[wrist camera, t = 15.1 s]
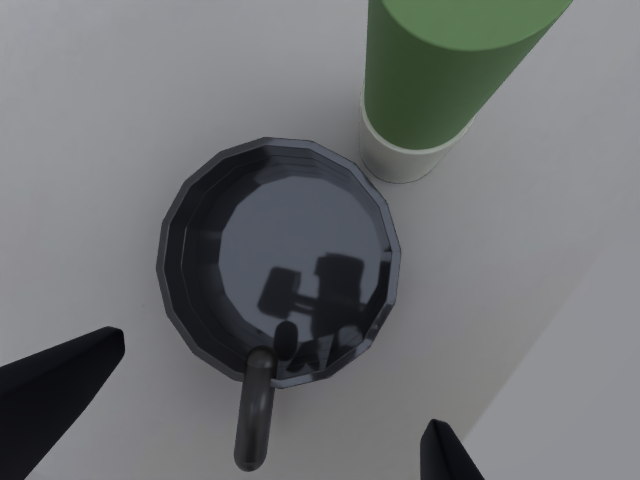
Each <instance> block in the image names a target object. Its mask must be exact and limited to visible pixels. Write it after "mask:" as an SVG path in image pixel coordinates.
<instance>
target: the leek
mask: <svg viewBox="0 0 640 480" xmlns="http://www.w3.org/2000/svg"><path fill="white" fill-rule="evenodd" d="M572 1H573V0H369V3H368V25H367V47H366V69H365V79H364V82H363V85H362V88H361V93H360V122H359V149H360V154H361V157H362V160H363V162H364V164H365V165H366V167H367V168H368V169H369V170H370V171H371V172H372V173H373V174H374V175H375V176H377V177H378V178H380V179H382V180H385V181H388V182H392V183H408V182H412V181H415V180H418V179H420V178H422V177H423V176H425V175H426V174H428V173H429V172H430V171H431V170H432V169H433V168H434V167H435V166H436V165H437V163H438V162H439V161H440V160H441V159H442V158H443V157H444V156H445V155H446V154H447V153H448V151H449V150H450V149H451V148H452V147H453V146H454V145H455V144H456V143H457V142H458V140H459V139H460V138H461V137H462V136H463V135H464V134H465V133H466V132H467V130H468V129H469V127H470V126H471V124H472V122H473V121H474V119H475V116H476V113H477V112H478V111H479V110H480V109H481V107H482V106H483V105H484V104H485V103H486V102H487V101H488V99H489V98H490V97H491V96H492V95H493V94H494V92H495V91H496V90H497V89H498V88H499V87H500V85H501V84H502V83H503V82H504V81H505V80H506V78H507V77H508V76H509V75H510V74H511V73H512V72H513V70H514V69H515V68H516V67H517V66H518V65H519V63H520V62H521V61H522V60H523V59H524V58H525V56H526V55H527V54H528V53H529V52H530V51H531V49H532V48H533V47H534V46H535V45H536V44H537V43H538V41H539V40H540V39H541V38H542V37H543V36H544V34H545V33H546V32H547V31H548V30H549V29H550V27H551V26H552V25H553V24H554V23H555V22H556V20H557V19H558V18H559V17H560V16H561V15H562V14H563V12H564V11H565V10H566V9H567V8H568V7H569V5H570V4H571V3H572Z"/></svg>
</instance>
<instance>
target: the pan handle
mask: <svg viewBox="0 0 640 480" xmlns="http://www.w3.org/2000/svg"><path fill="white" fill-rule="evenodd" d="M277 367H278V356H277V353H276V351H275V350H274V349H273V348H272V347H270V346H268V345H264V344H262V345H258V346H255V347H254V348H252V349H251V350H250V352H249V353H248V355H247V357H246V362H245V370H244V373H245V375H244V382H243V385H242V393H241V401H240V409H239V417H238V424H237V432H236V440H235V448H234V460H235V463H236V465H237V466H238V467H239V468H240V469H241V470H243V471H246V472H251V471H254V470H256V469H258V468H259V467H260V466H261V465H262V464H263V462H264V460H265V458H266V454H267V447H268V439H269V431H270V423H271V415H272V407H273V399H274V391H275V388H272V387H270V382H271V378H273V377H275V376H276V374H277Z"/></svg>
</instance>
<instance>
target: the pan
mask: <svg viewBox="0 0 640 480" xmlns="http://www.w3.org/2000/svg"><path fill="white" fill-rule="evenodd" d="M162 222H163V223H162V226H161V234H160V241H159V249H158V256H157V263H156V272H157V276H158V281H159V285H160V289H161V293H162V298H163V302H164V306H165V311H166V314H167V316H168V318H169V319H170V321H171V322H172V324H173V325H174V326H175V328H176V329H177V331H178V332H179V334H180V335H181V337H182V338H183V340H184V341H185V342H186V344H187V345H188V347H189V348H190V350H191V351H192V353H194V355H196V356H197V357H199V358H200V359H202V360H203V361H205V362H206V363H208V364H209V365H211V366H213V367H214V368H216V369H217V370H219V371H220V372H222V373H223V374H225V375H226V376H228V377H229V378H231V379H232V380H235V381H240V382H244V375H245V373H244V370H245V362H246V357H247V355H248V353H249V352H250V350H251V349H252V348H254V347H255V346H258V345H262V344H264V345H268V346H270V347H272V348H273V349H274V350H275V351H276V353H277V356H278V367H277V374H276V376H275V377H273V378H271V382H270V387H272V388H278V389H283V388H287V387H292V386H296V385H300V384H305V383H309V382H313V381H318V380H322V379H326V378H329V377H331V376H332V375H334V374H335V373H336V372H338V371H339V370H340V369H342V368H343V367H345V366H346V365H347V364H349V363H350V362H351V361H353V360H354V359H355V358H357V357H358V356H359V355H361V354H362V353H363V352H365V351H366V350H367V349H369V347H370V346H371V345H372V343H373V341H374V339H375V338H376V336H377V334H378V332H379V331H380V329H381V327H382V325H383V324H384V322H385V320H386V318H387V317H388V315H389V313H390V311H391V310H392V308H393V306H394V305H395V302H396V294H397V285H398V277H399V268H400V259H401V248H400V245H399V241H398V238H397V234H396V231H395V228H394V224H393V221H392V217H391V214H390V211H389V207H388V204H387V202H386V200H385V199H384V198H383V197H382V195H381V194H380V193H379V192H378V190H377V189H376V188H375V187H374V186H373V184H372V183H371V182H370V181H369V179H368V178H367V177H366V176H365V175H364V173H363V172H362V171H361V170H360V168H359V167H358V166H357V165H356V164H355V163H354V162H352V161H350V160H348V159H346V158H344V157H342V156H340V155H338V154H337V153H335V152H333V151H331V150H329V149H327V148H325V147H323V146H321V145H319V144H317V143H315V142H314V141H309V140H297V139H284V138H271V137H263V138H260V139H257V140H254V141H251V142H248V143H245V144H241V145H238V146H235V147H232V148H229V149H226V150H223V151H221V152H219V153H218V154H216V155H215V156H214V157H213V158H212V159H210V160H209V161H208V162H207V163H206V164H205V165H203V166H202V167H201V168H200V169H199V170H197V171H196V172H195V173H194V174H193V175H191V176H190V177H189V178H188V179H187V180H186V181H185V182H184V183H183V185H182V187H181V188H180V190H179V192H178V194H177V196H176V198H175V199H174V201H173V203H172V205H171V207H170V209H169V210H168V212H167V214H166V216H165V218H164V220H163V221H162Z"/></svg>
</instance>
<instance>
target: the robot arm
mask: <svg viewBox="0 0 640 480" xmlns="http://www.w3.org/2000/svg"><path fill="white" fill-rule="evenodd" d="M124 353H125V343H124V334H123V331H122V330H121V329H118V328H114V327H110V326H107V327H104V328H101V329H98V330H96V331H93V332H91V333H88V334H85V335H83V336H80V337H78V338H75V339H72V340H70V341H67V342H65V343H62V344H59V345H57V346H54V347H52V348H49V349H46V350H44V351H41V352H38V353H36V354H33V355H31V356H28V357H25V358H23V359H20V360H18V361H15V362H12V363H10V364H7V365H5V366H2V367H0V480H24V479H25V478H26V477H27V476H28V475H29V473H30V472H31V471H32V470H33V469H34V468H35V466H36V465H37V464H38V463H39V462H40V461H41V460H42V458H43V457H44V456H45V455H46V454H47V453H48V452H49V450H50V449H51V448H52V447H53V446H54V445H55V443H56V442H57V441H58V440H59V439H60V438H61V437H62V435H63V434H64V433H65V432H66V431H67V430H68V428H69V427H70V426H71V425H72V424H73V423H74V422H75V420H76V419H77V418H78V417H79V416H80V415H81V413H82V412H83V411H84V410H85V409H86V407H87V406H88V405H89V403H90V402H91V401H92V399H93V398H94V397H95V395H96V394H97V393H98V391H99V390H100V388H101V387H102V386H103V384H104V383H105V382H106V380H107V379H108V377H109V376H110V375H111V373H112V372H113V371H114V369H115V368H116V366H117V365H118V364H119V362H120V361H121V360H122V358H123V356H124ZM420 476H421V480H485V479H484V478H483V476H482V475H481V473H480V472H479V470H478V469H477V467H476V465H475V464H474V463H473V461H472V459H471V458H470V456H469V455H468V453H467V452H466V450H465V449H464V447H463V445H462V444H461V442H460V441H459V439H458V438H457V436H456V434H455V433H454V431H453V430H452V428H451V427H450V425H449V424H448V423H446V422H443V421H440V420H436V419H432V420H431V421H430V422H429V424H428V426H427V428H426V430H425V432H424V434H423V435H422V438H421V442H420Z"/></svg>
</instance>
